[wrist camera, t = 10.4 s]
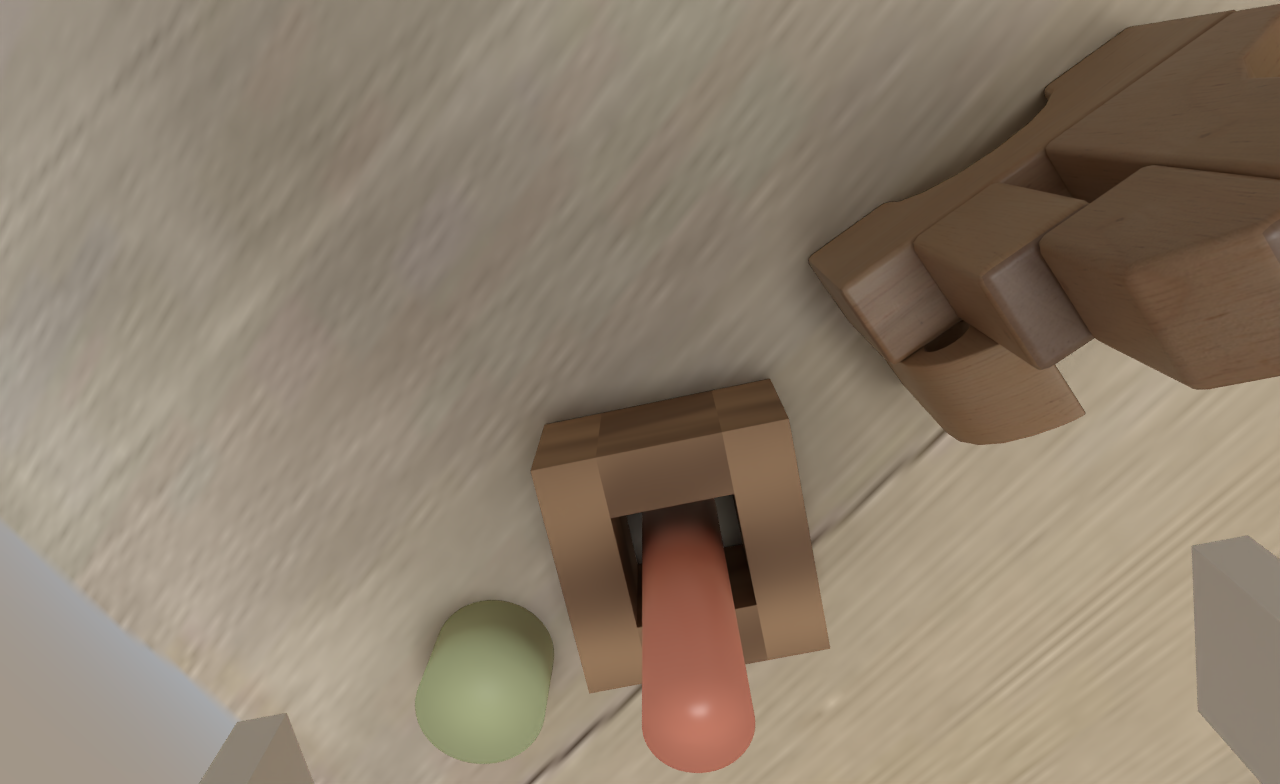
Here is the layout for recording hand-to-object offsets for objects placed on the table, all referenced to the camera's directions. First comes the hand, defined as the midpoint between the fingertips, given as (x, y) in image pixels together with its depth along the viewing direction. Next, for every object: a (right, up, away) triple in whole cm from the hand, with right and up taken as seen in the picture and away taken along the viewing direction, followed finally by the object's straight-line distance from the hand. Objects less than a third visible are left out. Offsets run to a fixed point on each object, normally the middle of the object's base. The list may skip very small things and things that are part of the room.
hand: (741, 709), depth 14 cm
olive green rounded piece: (-8, -6, +27) cm, 29 cm away
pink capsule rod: (0, 0, +25) cm, 25 cm away
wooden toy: (+13, +11, +22) cm, 28 cm away
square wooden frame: (0, 0, +25) cm, 25 cm away
